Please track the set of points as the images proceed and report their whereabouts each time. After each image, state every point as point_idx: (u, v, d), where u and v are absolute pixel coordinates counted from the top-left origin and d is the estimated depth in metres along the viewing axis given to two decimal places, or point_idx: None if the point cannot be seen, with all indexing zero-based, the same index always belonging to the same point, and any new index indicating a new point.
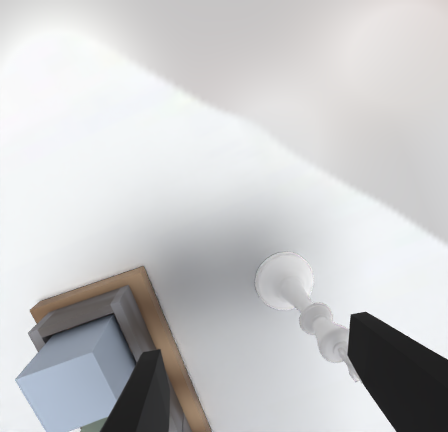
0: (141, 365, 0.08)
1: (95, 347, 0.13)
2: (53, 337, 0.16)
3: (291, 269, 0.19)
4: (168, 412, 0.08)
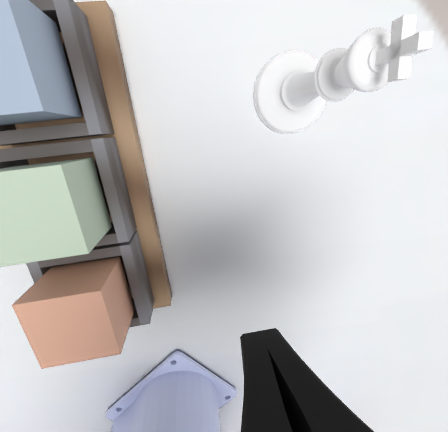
0: (251, 345, 0.08)
1: None
2: None
3: (305, 68, 0.15)
4: None
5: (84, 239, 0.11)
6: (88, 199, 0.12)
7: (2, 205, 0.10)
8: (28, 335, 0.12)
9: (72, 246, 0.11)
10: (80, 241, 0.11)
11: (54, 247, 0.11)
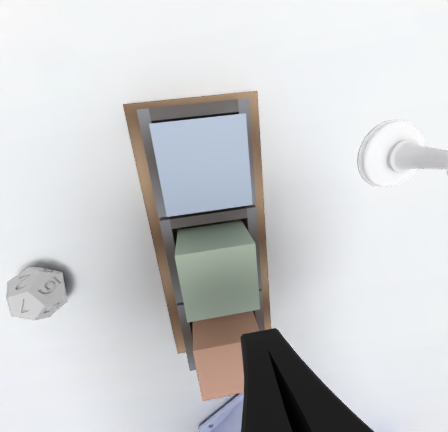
0: (250, 345, 0.08)
1: (244, 114, 0.11)
2: None
3: (409, 136, 0.17)
4: None
5: None
6: None
7: (205, 275, 0.12)
8: (199, 374, 0.14)
9: (249, 304, 0.13)
10: (256, 300, 0.13)
11: (235, 305, 0.13)
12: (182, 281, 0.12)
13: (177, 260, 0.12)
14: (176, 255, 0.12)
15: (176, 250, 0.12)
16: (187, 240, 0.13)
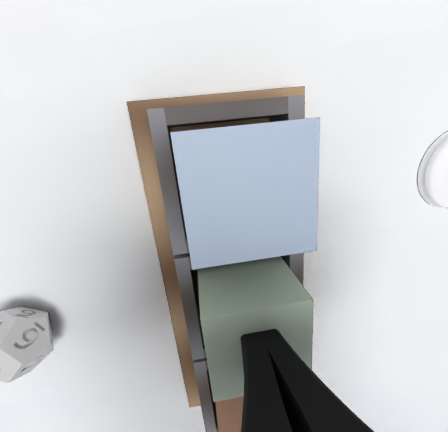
0: (251, 345, 0.08)
1: (313, 118, 0.07)
2: None
3: None
4: None
5: (311, 368, 0.10)
6: None
7: None
8: None
9: None
10: None
11: None
12: (209, 352, 0.09)
13: (204, 325, 0.08)
14: (202, 318, 0.08)
15: (202, 307, 0.09)
16: (213, 288, 0.10)
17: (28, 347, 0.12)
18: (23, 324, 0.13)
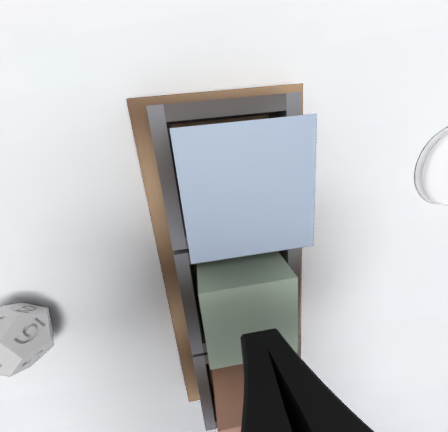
0: (251, 345, 0.08)
1: (311, 115, 0.07)
2: None
3: None
4: None
5: (297, 340, 0.11)
6: None
7: (235, 315, 0.10)
8: None
9: None
10: (293, 342, 0.11)
11: None
12: (206, 323, 0.10)
13: (201, 299, 0.10)
14: (200, 292, 0.10)
15: (199, 284, 0.10)
16: (210, 269, 0.11)
17: (29, 342, 0.13)
18: (24, 319, 0.13)
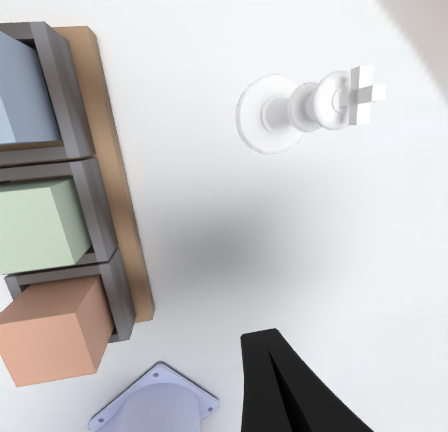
0: (251, 345, 0.08)
1: None
2: None
3: (285, 92, 0.15)
4: None
5: (71, 252, 0.12)
6: (75, 214, 0.13)
7: None
8: (3, 355, 0.12)
9: (59, 258, 0.12)
10: (67, 253, 0.12)
11: (43, 258, 0.12)
12: None
13: None
14: None
15: None
16: None
17: None
18: None
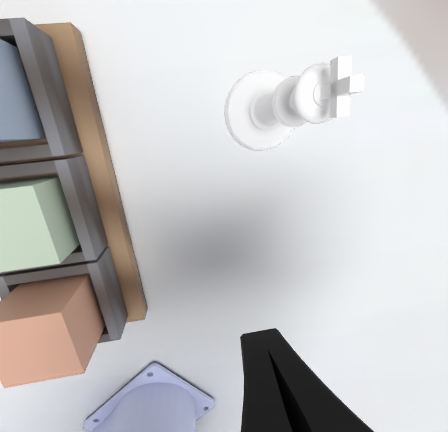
0: (251, 345, 0.08)
1: None
2: None
3: (274, 87, 0.15)
4: None
5: (56, 251, 0.12)
6: (61, 213, 0.13)
7: None
8: None
9: (44, 257, 0.12)
10: (52, 252, 0.12)
11: (28, 258, 0.12)
12: None
13: None
14: None
15: None
16: None
17: None
18: None
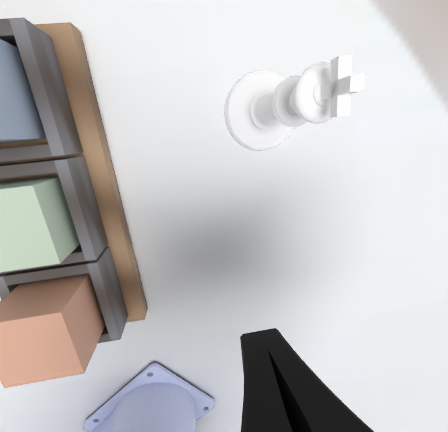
0: (251, 345, 0.08)
1: None
2: None
3: (274, 87, 0.15)
4: None
5: (56, 251, 0.12)
6: (61, 213, 0.13)
7: None
8: None
9: (44, 257, 0.12)
10: (52, 252, 0.12)
11: (28, 258, 0.12)
12: None
13: None
14: None
15: None
16: None
17: None
18: None
